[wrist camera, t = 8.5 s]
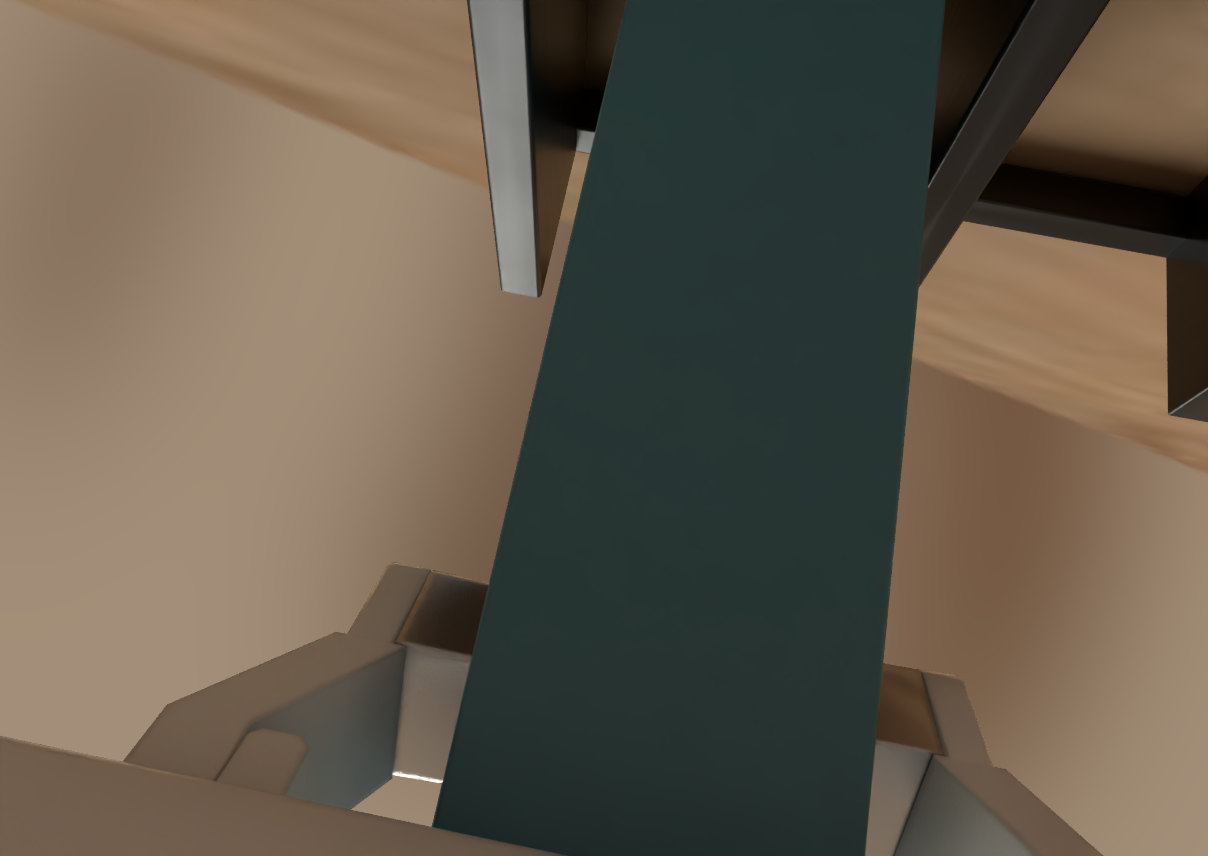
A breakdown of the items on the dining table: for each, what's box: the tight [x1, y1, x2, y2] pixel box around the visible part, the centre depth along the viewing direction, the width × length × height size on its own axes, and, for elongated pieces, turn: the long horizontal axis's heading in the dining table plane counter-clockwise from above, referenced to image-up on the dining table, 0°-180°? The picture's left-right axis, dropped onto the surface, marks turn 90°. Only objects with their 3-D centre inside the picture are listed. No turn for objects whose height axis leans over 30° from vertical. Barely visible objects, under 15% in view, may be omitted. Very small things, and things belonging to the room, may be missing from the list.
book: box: [432, 0, 946, 856], centre depth 17 cm, size 4×10×16 cm, turn 178°
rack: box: [467, 0, 1208, 422], centre depth 19 cm, size 17×14×6 cm
